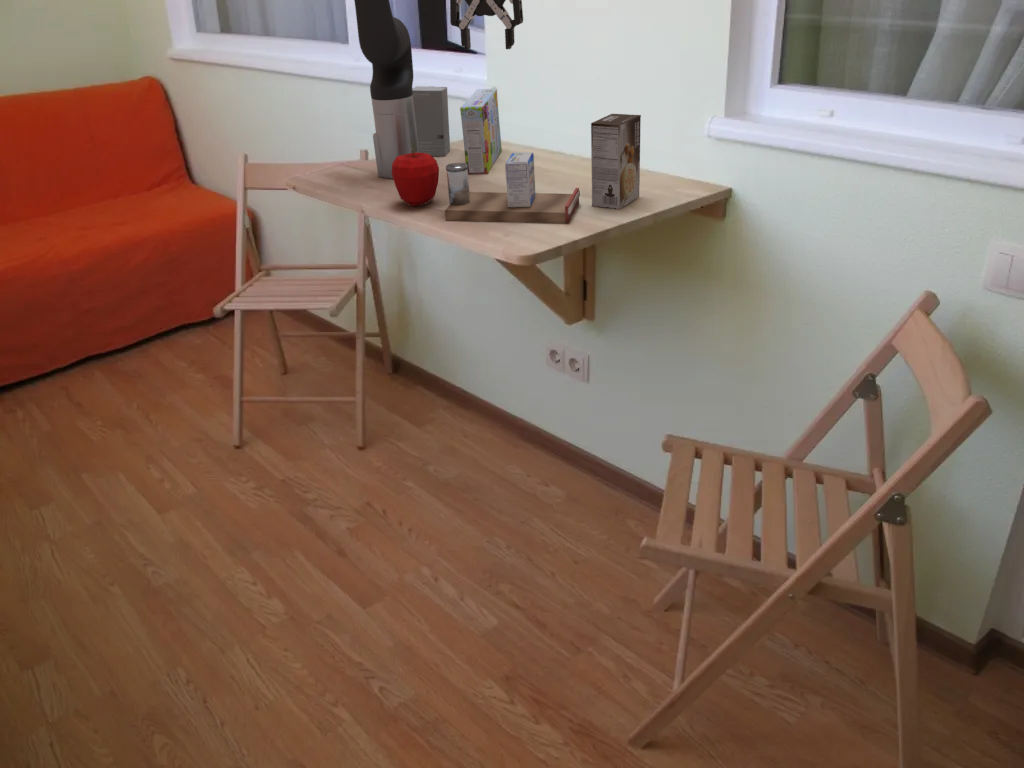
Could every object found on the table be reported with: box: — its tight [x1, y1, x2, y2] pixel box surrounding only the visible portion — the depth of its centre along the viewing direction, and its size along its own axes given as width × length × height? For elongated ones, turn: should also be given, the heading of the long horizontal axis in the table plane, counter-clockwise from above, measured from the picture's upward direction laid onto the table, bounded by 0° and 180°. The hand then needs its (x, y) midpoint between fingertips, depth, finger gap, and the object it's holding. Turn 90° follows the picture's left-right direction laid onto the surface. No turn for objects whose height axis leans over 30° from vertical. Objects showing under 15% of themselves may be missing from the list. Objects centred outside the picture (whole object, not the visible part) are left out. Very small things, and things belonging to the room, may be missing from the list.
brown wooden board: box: [444, 187, 581, 224], centre depth 159 cm, size 24×12×3 cm, turn 76°
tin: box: [445, 162, 470, 205], centre depth 159 cm, size 4×4×7 cm
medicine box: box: [505, 151, 536, 208], centre depth 156 cm, size 8×4×9 cm, turn 171°
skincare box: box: [412, 85, 451, 157], centre depth 201 cm, size 8×7×16 cm
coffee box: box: [590, 113, 642, 210], centre depth 158 cm, size 9×6×16 cm
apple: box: [392, 150, 440, 207], centre depth 165 cm, size 10×10×11 cm
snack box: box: [459, 88, 503, 175], centre depth 191 cm, size 21×6×15 cm, turn 172°
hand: (487, 49), depth 163 cm, fingers open, 8 cm apart
